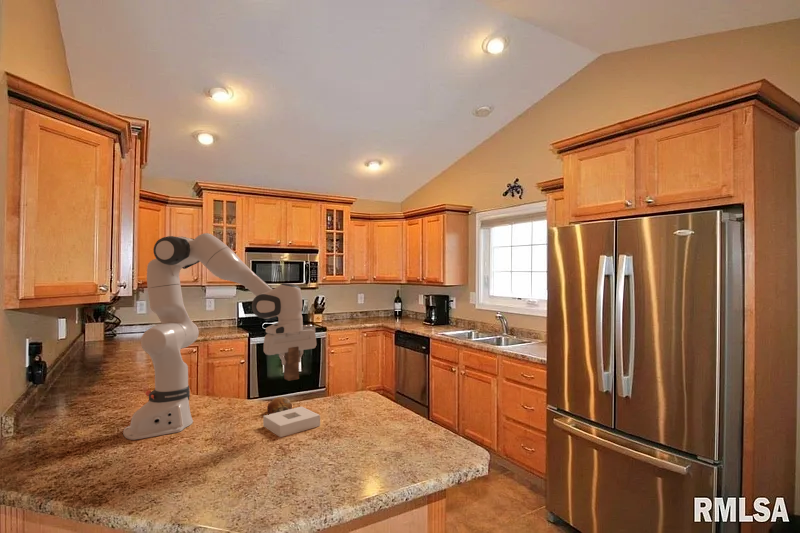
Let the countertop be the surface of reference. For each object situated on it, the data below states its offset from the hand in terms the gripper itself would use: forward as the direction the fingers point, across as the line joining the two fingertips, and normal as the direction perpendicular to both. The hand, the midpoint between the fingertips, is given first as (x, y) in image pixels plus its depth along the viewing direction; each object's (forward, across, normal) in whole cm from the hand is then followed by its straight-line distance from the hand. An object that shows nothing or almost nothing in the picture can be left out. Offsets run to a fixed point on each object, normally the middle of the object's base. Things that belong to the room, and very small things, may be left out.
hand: (291, 363), depth 158 cm
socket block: (+24, 0, 0) cm, 24 cm away
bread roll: (+24, -4, -18) cm, 30 cm away
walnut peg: (+6, 0, 0) cm, 6 cm away
